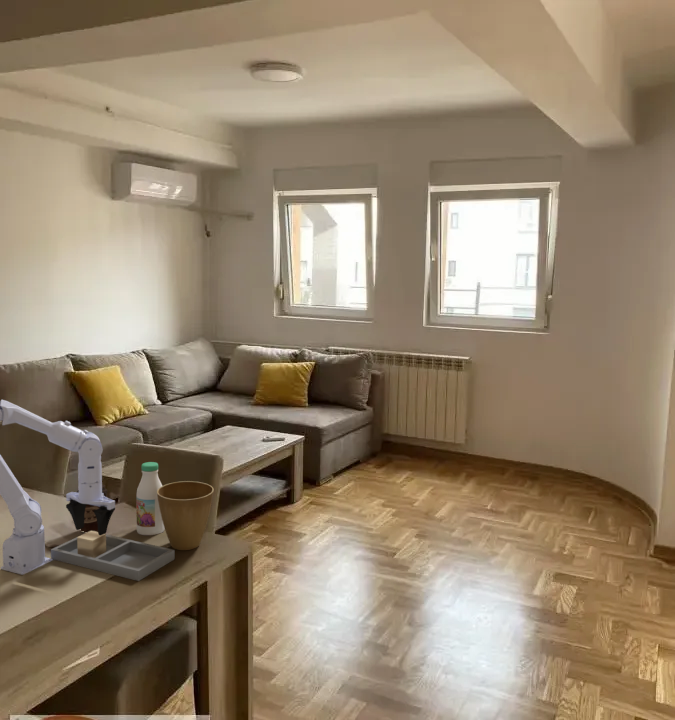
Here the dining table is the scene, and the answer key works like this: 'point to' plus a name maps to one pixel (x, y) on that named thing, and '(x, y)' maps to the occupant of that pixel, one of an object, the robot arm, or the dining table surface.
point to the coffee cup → (91, 515)
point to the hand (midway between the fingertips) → (91, 531)
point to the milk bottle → (149, 501)
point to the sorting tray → (118, 557)
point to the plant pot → (185, 512)
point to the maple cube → (91, 544)
